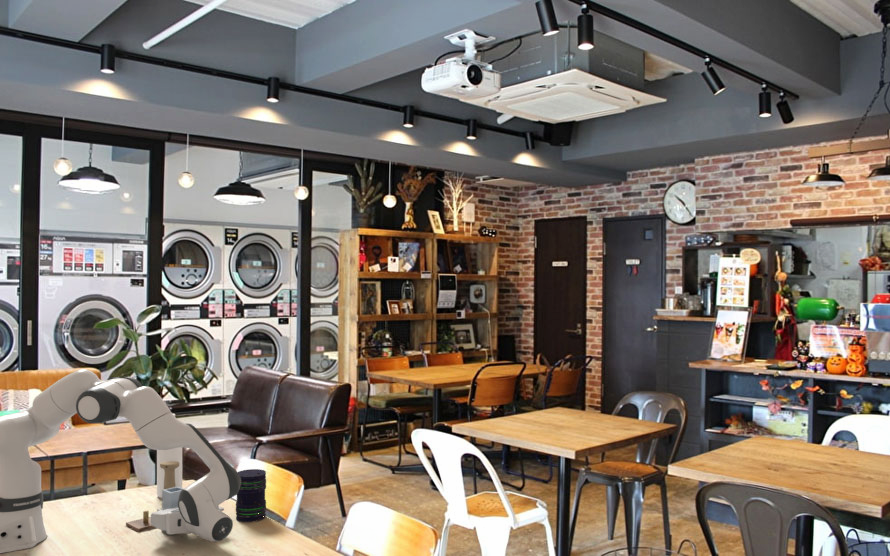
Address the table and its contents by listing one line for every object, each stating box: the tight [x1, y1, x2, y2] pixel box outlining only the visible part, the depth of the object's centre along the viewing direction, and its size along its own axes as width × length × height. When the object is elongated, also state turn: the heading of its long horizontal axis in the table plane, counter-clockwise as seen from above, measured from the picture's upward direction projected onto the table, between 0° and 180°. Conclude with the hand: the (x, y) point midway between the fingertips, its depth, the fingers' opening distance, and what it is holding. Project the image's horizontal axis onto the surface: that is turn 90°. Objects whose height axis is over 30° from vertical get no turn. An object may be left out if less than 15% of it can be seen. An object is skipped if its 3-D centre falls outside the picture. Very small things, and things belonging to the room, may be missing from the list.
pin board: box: [125, 510, 157, 533], centre depth 242 cm, size 18×9×4 cm, turn 137°
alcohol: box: [156, 413, 183, 499], centre depth 273 cm, size 9×9×30 cm
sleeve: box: [160, 487, 184, 536], centre depth 233 cm, size 6×6×13 cm
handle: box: [160, 461, 179, 489], centre depth 260 cm, size 5×6×15 cm
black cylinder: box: [235, 468, 267, 523], centre depth 246 cm, size 10×10×15 cm
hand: (173, 508), depth 233 cm, fingers open, 8 cm apart
